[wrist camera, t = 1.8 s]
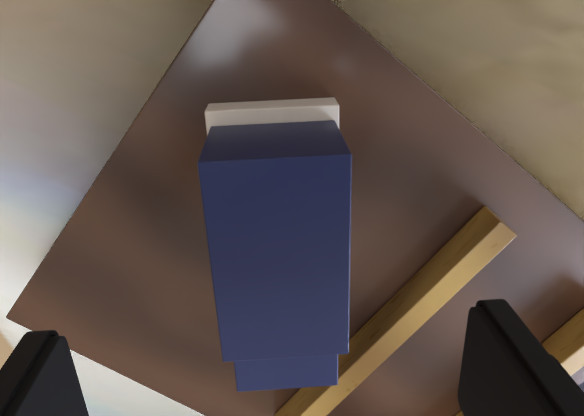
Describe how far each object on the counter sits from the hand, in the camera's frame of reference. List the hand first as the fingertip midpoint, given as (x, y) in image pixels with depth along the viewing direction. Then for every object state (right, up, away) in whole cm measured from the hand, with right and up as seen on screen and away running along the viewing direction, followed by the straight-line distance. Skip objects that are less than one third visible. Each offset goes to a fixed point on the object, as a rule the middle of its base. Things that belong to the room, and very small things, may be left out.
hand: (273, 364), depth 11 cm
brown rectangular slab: (+3, +1, +14) cm, 14 cm away
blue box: (0, +3, +8) cm, 9 cm away
